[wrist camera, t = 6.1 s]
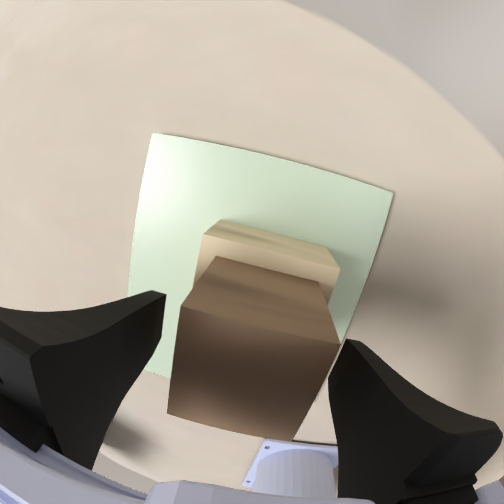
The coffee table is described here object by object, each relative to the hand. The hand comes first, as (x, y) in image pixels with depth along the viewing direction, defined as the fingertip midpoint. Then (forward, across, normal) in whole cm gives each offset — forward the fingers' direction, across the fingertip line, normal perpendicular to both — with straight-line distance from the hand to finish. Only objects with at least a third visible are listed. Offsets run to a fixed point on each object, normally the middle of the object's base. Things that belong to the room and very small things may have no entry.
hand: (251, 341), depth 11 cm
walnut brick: (+2, 0, 0) cm, 2 cm away
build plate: (+7, +1, +1) cm, 7 cm away
